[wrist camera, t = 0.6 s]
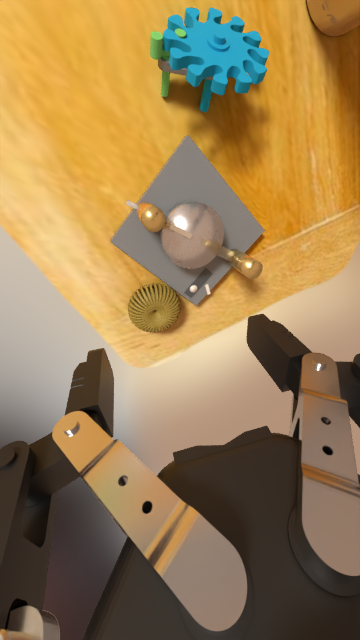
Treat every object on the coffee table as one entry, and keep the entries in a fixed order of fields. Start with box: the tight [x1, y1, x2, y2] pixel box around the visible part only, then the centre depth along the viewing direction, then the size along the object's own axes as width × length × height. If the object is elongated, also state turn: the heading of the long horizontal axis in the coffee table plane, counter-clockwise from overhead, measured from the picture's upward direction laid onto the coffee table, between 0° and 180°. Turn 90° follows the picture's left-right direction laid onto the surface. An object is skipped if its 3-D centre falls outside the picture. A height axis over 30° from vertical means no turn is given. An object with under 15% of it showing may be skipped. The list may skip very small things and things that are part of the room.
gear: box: [150, 8, 269, 112], centre depth 24 cm, size 11×6×10 cm
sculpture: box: [128, 283, 180, 333], centre depth 36 cm, size 8×4×8 cm
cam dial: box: [136, 201, 263, 279], centre depth 29 cm, size 16×8×6 cm, turn 63°
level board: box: [111, 135, 265, 306], centre depth 33 cm, size 15×18×2 cm
